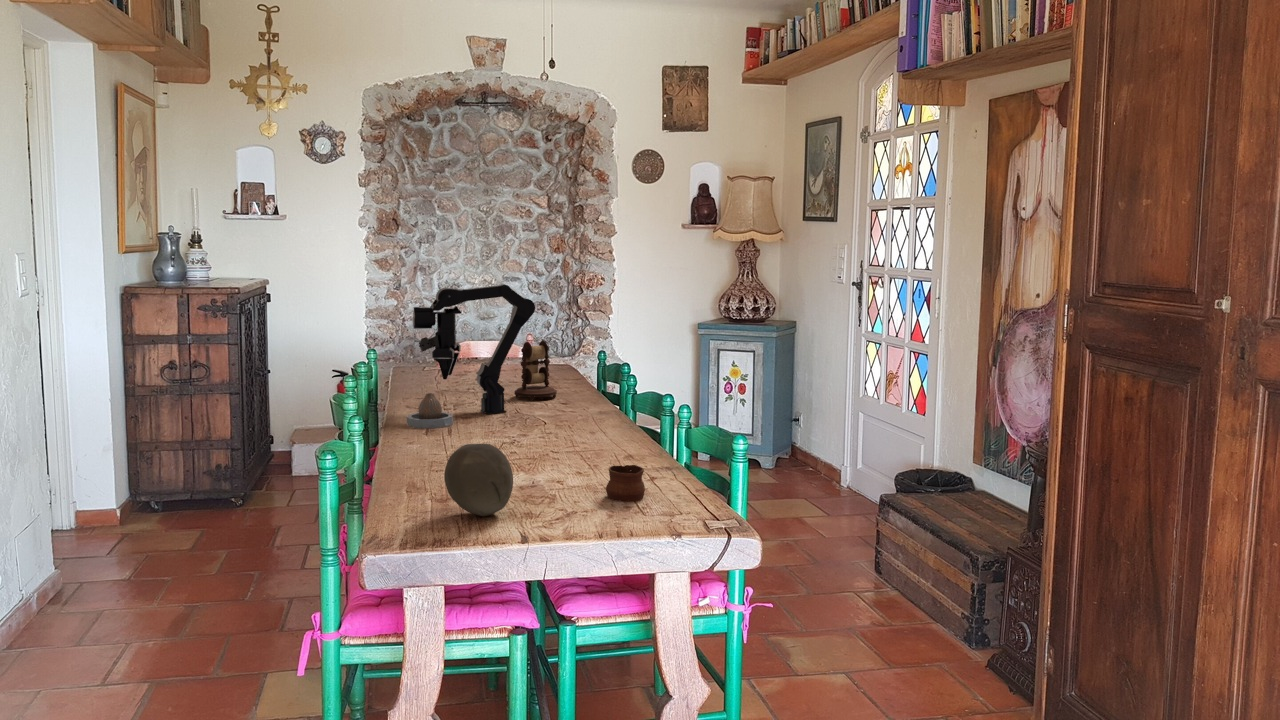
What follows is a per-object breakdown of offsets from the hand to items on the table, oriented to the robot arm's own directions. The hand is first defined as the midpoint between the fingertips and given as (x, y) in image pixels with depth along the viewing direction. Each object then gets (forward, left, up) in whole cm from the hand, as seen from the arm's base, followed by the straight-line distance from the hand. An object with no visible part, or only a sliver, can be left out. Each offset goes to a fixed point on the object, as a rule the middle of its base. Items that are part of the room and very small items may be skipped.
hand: (447, 377), depth 324 cm
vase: (+11, +12, -12) cm, 20 cm away
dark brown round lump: (+41, +111, -12) cm, 118 cm away
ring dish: (+11, +12, -12) cm, 20 cm away
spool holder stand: (-39, -14, -12) cm, 43 cm away
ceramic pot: (+7, +115, -13) cm, 116 cm away
